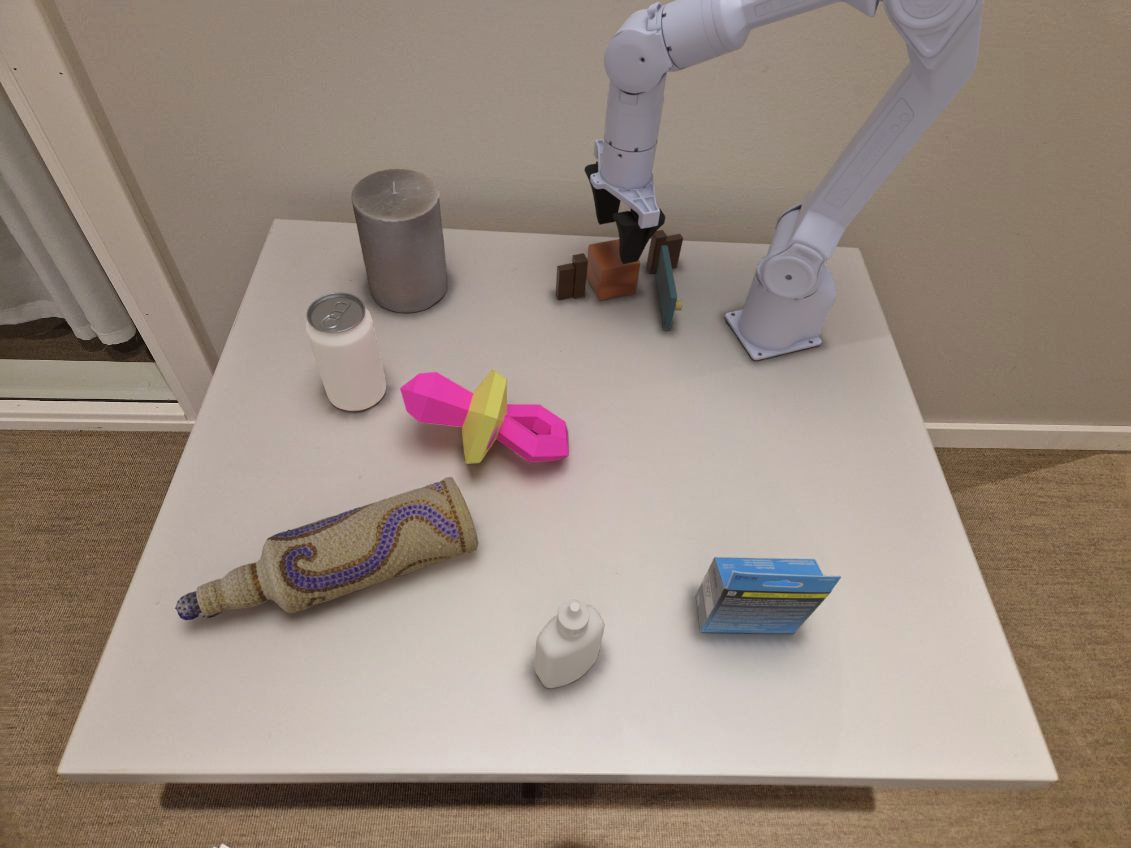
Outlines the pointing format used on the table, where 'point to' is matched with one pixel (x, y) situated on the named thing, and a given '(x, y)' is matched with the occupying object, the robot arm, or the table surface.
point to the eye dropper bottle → (568, 644)
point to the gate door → (666, 288)
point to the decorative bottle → (344, 553)
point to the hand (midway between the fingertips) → (617, 240)
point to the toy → (487, 417)
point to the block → (610, 271)
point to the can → (346, 351)
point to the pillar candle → (401, 238)
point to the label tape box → (760, 594)
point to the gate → (575, 273)
